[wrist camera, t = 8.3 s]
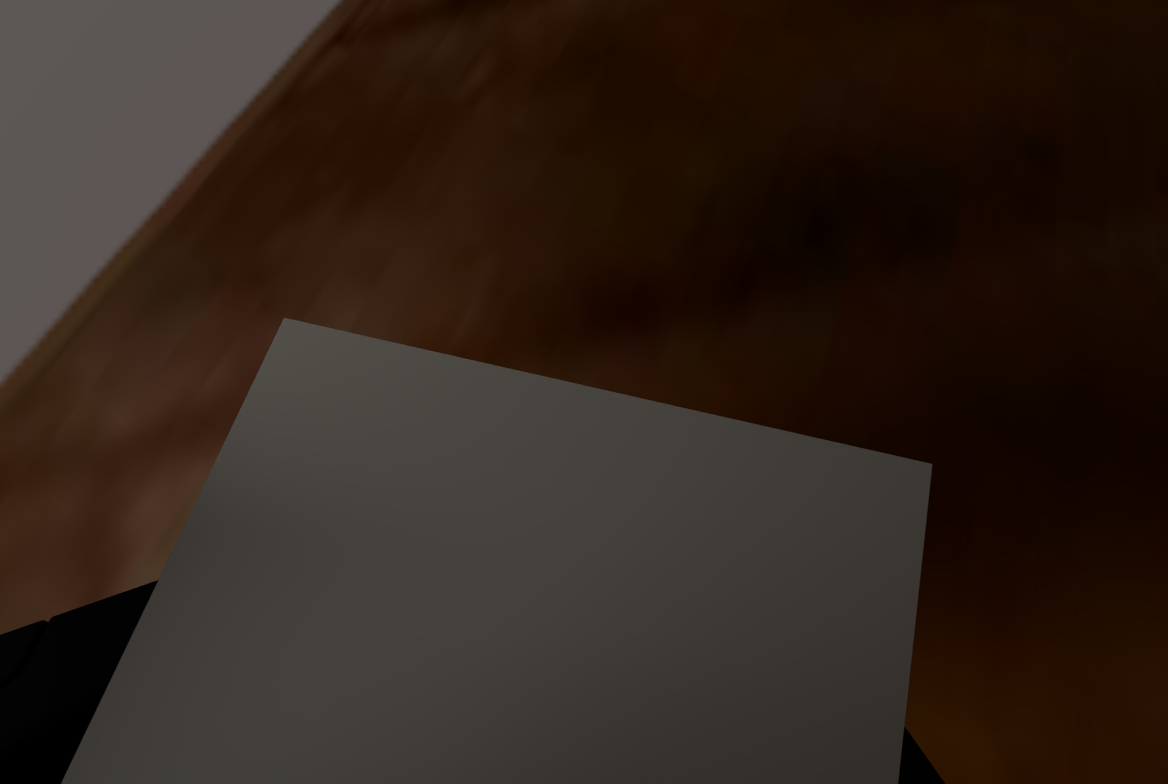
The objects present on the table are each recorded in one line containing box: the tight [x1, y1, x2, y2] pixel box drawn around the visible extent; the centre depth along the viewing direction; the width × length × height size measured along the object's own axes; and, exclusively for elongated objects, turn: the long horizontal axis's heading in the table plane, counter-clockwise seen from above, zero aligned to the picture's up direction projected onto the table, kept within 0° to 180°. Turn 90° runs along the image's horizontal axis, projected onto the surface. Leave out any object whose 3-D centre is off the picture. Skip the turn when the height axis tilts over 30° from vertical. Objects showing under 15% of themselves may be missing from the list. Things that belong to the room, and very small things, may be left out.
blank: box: [61, 318, 932, 784], centre depth 10 cm, size 5×5×11 cm
